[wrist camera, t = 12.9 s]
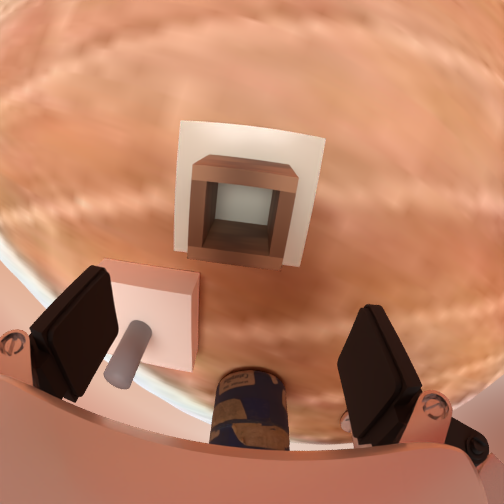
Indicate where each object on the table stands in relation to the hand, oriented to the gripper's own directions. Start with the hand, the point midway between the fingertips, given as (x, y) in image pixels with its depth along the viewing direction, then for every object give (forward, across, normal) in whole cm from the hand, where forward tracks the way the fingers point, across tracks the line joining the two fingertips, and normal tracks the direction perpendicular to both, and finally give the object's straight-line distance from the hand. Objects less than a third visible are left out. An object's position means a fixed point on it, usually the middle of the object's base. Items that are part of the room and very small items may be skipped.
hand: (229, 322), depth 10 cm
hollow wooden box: (+15, +1, -1) cm, 15 cm away
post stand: (+16, +10, +13) cm, 23 cm away
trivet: (+16, +1, -1) cm, 16 cm away
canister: (+17, -3, +25) cm, 30 cm away
